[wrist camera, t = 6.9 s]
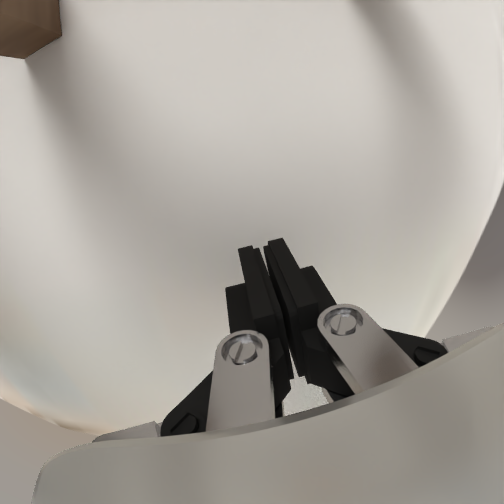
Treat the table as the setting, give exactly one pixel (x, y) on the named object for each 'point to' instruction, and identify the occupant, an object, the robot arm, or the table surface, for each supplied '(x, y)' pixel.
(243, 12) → the table surface
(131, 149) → the table surface
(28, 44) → the bridge
